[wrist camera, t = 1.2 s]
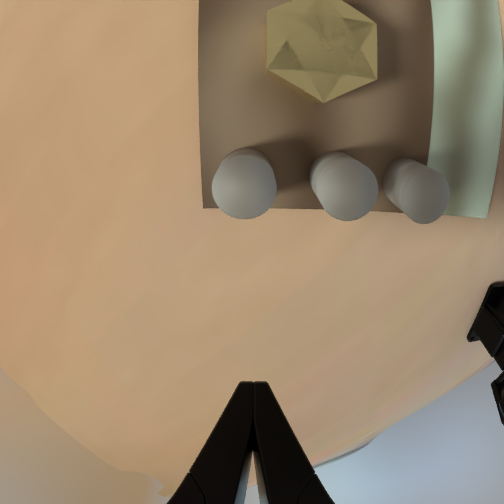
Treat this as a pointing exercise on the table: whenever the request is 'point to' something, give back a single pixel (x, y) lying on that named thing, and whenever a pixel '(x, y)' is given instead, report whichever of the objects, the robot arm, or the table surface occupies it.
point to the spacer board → (355, 116)
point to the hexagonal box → (320, 48)
